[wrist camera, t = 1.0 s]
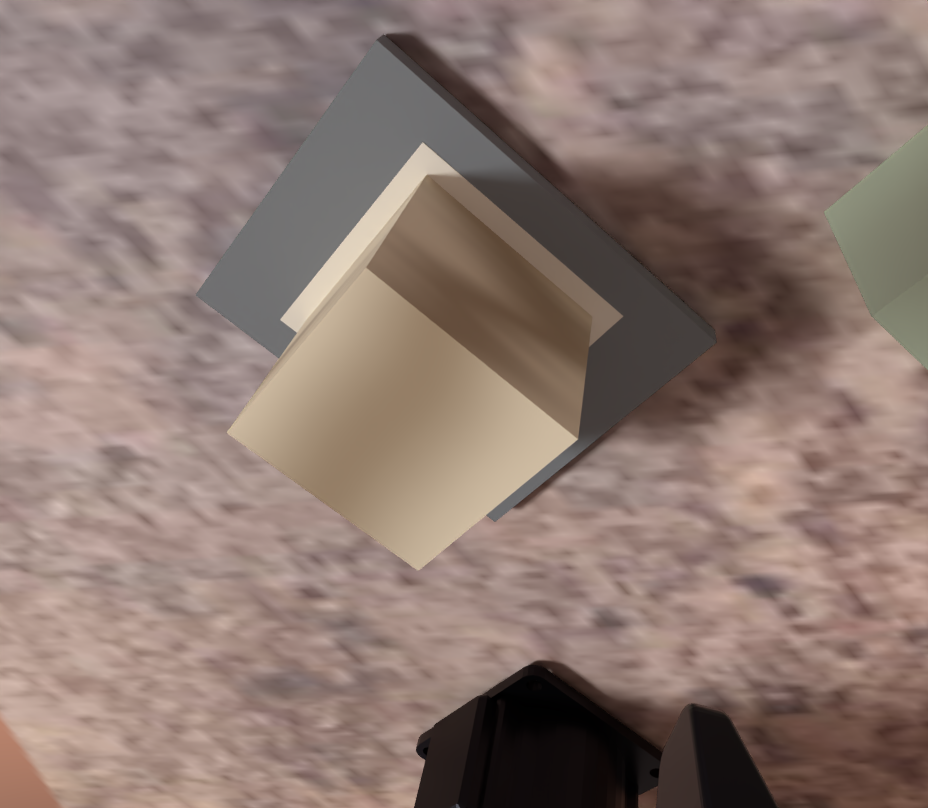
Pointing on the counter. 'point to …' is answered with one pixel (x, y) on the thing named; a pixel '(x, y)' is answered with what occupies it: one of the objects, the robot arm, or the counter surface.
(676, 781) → the robot arm
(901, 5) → the counter surface
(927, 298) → the green block
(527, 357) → the maple block
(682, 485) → the counter surface
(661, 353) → the grey base plate
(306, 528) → the counter surface
